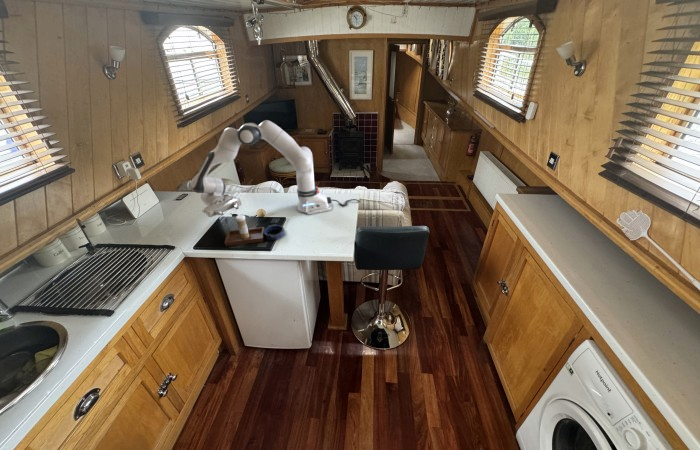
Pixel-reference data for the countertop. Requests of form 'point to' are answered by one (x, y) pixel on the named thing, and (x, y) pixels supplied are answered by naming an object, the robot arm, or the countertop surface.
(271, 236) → the enamel pot
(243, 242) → the tray
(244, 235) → the sprinkles bottle
